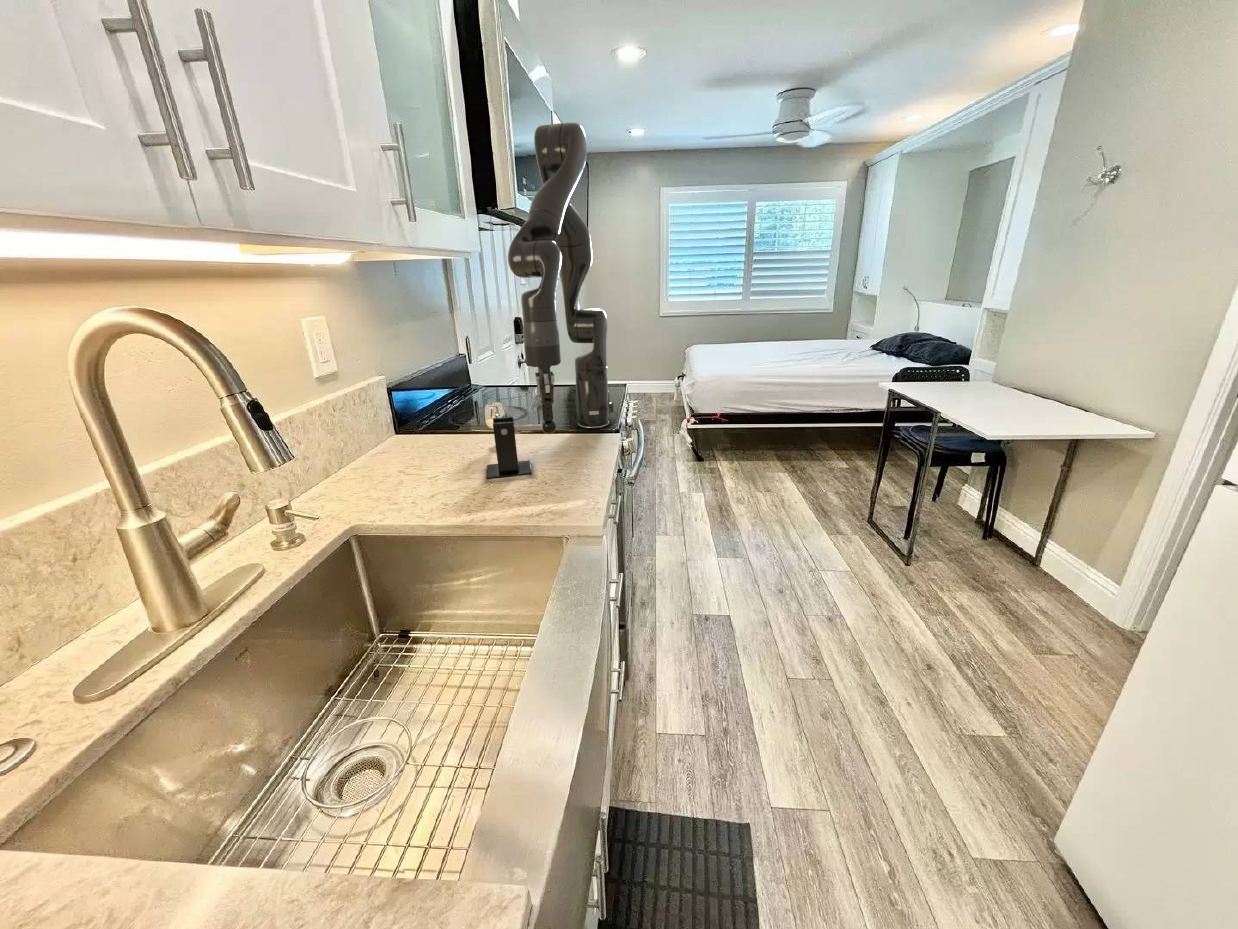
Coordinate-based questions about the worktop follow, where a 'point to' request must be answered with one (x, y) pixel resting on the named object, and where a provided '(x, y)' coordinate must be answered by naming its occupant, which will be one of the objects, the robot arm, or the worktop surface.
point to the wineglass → (494, 412)
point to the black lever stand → (506, 452)
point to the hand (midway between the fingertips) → (548, 420)
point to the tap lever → (538, 427)
